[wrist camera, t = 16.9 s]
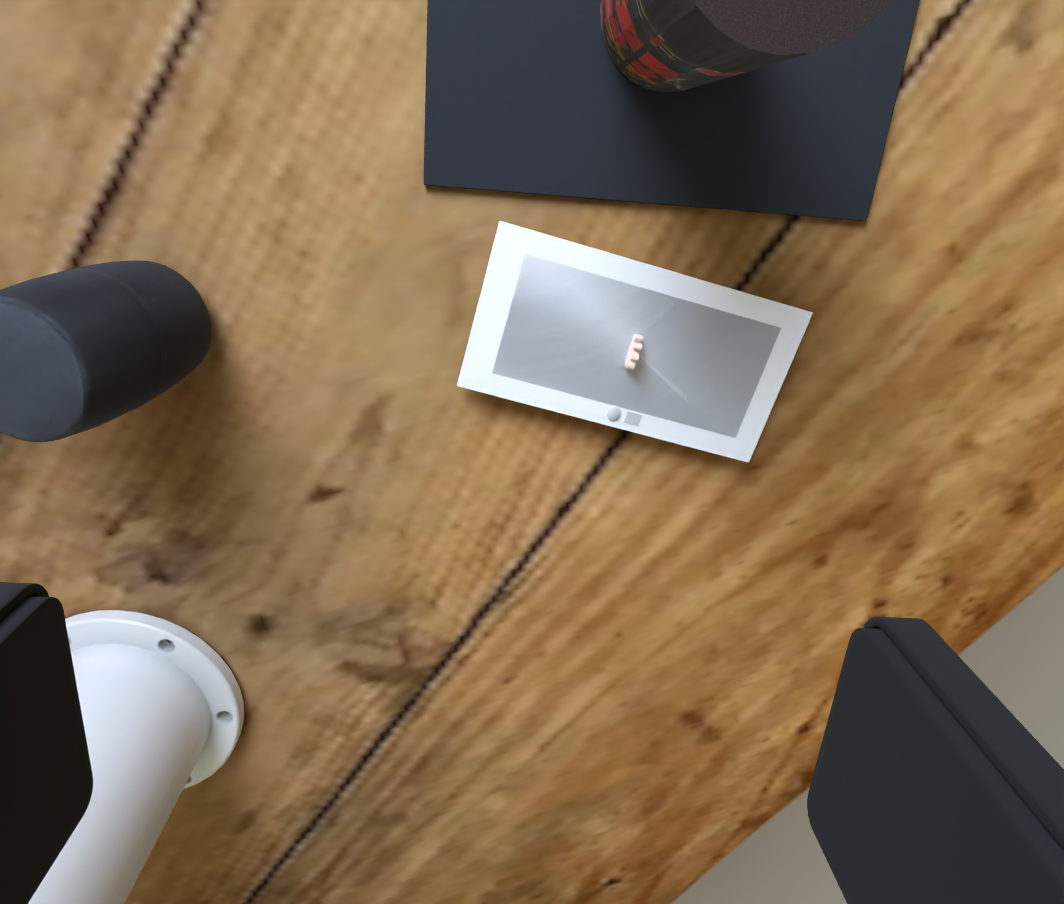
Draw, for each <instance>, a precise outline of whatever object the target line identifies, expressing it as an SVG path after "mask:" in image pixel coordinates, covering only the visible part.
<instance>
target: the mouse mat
mask: <svg viewBox="0 0 1064 904" xmlns="http://www.w3.org/2000/svg"><path fill="white" fill-rule="evenodd" d="M919 1H920V0H892V1H891V2H890V3H889V4H888V5H887V6H886V8H885V9H884V10H883V11H882V12H881V13H880V14H879V15H878V16H877V17H876V18H875V19H874V21H872V22H871V23H869V24H868V25H866V26H865V27H863V28H862V29H860V30H859V31H858V32H856V33H855V34H853V35H852V36H850V37H849V38H847V39H846V40H844V41H842V42H840V43H837V44H834V45H832V46H829V47H826V48H823V49H821V50H818V51H815V52H813V53H810V54H806V55H803V56H799V57H796V58H793V59H789V60H786V61H782V62H779V63H776V64H772V65H769V66H765V67H762V68H759V69H755V70H752V71H748V72H745V73H742V74H738V75H735V76H731V77H728V78H725V79H721V80H718V81H714V82H711V83H708V84H704V85H701V86H697V87H694V88H691V89H687V90H684V91H678V92H664V93H663V92H658V91H654V90H650V89H645V88H644V87H642V86H640V85H638V84H636V83H635V82H633V81H631V80H629V79H628V78H627V77H626V76H625V74H624V73H623V72H622V71H621V70H620V69H619V68H618V67H617V66H616V65H615V63H614V61H613V59H612V58H611V56H610V54H609V52H608V50H607V49H606V45H605V41H604V38H603V34H602V30H601V13H600V5H601V0H428V13H427V58H426V102H425V147H424V185H433V186H445V187H458V188H470V189H482V190H494V191H506V192H518V193H531V194H543V195H555V196H567V197H579V198H592V199H604V200H616V201H628V202H640V203H653V204H665V205H677V206H689V207H701V208H714V209H726V210H738V211H750V212H762V213H775V214H787V215H799V216H811V217H823V218H836V219H848V220H860V221H867V218H868V214H869V210H870V206H871V201H872V197H873V193H874V189H875V185H876V180H877V176H878V172H879V168H880V164H881V160H882V155H883V151H884V147H885V143H886V139H887V135H888V130H889V126H890V122H891V118H892V114H893V109H894V105H895V101H896V97H897V93H898V89H899V84H900V80H901V76H902V72H903V68H904V64H905V59H906V55H907V51H908V47H909V43H910V38H911V34H912V30H913V26H914V22H915V18H916V13H917V9H918V5H919Z"/></svg>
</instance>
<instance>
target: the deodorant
mask: <svg viewBox="0 0 1064 904" xmlns="http://www.w3.org/2000/svg"><path fill="white" fill-rule="evenodd" d="M891 1H892V0H601V5H600V13H601V30H602V34H603V38H604V41H605V45H606V49H607V50H608V52H609V54H610V56H611V58H612V59H613V61H614V63H615V65H616V66H617V67H618V68H619V69H620V70H621V71H622V72H623V73H624V74H625V76H626V77H627V78H628V79H629V80H631V81H633V82H635V83H636V84H638V85H640V86H642V87H644V88H645V89H650V90H654V91H658V92H663V93H664V92H678V91H684V90H687V89H691V88H694V87H697V86H701V85H704V84H708V83H711V82H714V81H718V80H721V79H725V78H728V77H731V76H735V75H738V74H742V73H745V72H748V71H752V70H755V69H759V68H762V67H765V66H769V65H772V64H776V63H779V62H782V61H786V60H789V59H793V58H796V57H799V56H803V55H806V54H810V53H813V52H815V51H818V50H821V49H823V48H826V47H829V46H832V45H834V44H837V43H840V42H842V41H844V40H846V39H847V38H849V37H850V36H852V35H853V34H855V33H856V32H858V31H859V30H860V29H862V28H863V27H865V26H866V25H868V24H869V23H871V22H872V21H874V19H875V18H876V17H877V16H878V15H879V14H880V13H881V12H882V11H883V10H884V9H885V8H886V6H887V5H888V4H889V3H890V2H891Z"/></svg>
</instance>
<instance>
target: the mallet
mask: <svg viewBox="0 0 1064 904" xmlns="http://www.w3.org/2000/svg"><path fill="white" fill-rule="evenodd" d="M210 340H211V322H210V318H209V314H208V311H207V308H206V306H205V304H204V302H203V300H202V298H201V296H200V295H199V293H198V292H197V290H196V289H195V288H194V287H193V285H192V284H191V283H190V282H189V281H188V280H187V279H185V278H184V277H183V276H182V275H180V274H179V273H177V272H176V271H174V270H172V269H170V268H168V267H167V266H164V265H162V264H159V263H155V262H149V261H120V262H109V263H102V264H95V265H90V266H85V267H80V268H76V269H72V270H67V271H62V272H59V273H54V274H50V275H46V276H42V277H38V278H35V279H31V280H28V281H25V282H22V283H19V284H16V285H13V286H10V287H8V288H5V289H2V290H0V432H2V433H4V434H7V435H9V436H12V437H14V438H17V439H20V440H24V441H30V442H48V441H54V440H59V439H62V438H65V437H68V436H71V435H74V434H77V433H80V432H83V431H86V430H89V429H91V428H94V427H97V426H99V425H102V424H104V423H106V422H108V421H111V420H113V419H115V418H117V417H119V416H121V415H123V414H125V413H127V412H129V411H131V410H134V409H136V408H138V407H140V406H142V405H143V404H145V403H147V402H148V401H150V400H152V399H153V398H155V397H157V396H158V395H160V394H162V393H163V392H165V391H166V390H168V389H169V388H171V387H172V386H173V385H175V384H176V383H177V382H179V381H180V380H181V379H182V378H184V377H185V376H186V375H188V374H189V373H190V372H191V371H193V370H194V369H195V368H196V367H197V366H198V365H199V364H200V363H201V362H202V360H203V359H204V357H205V356H206V354H207V352H208V349H209V345H210Z"/></svg>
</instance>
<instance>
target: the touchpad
mask: <svg viewBox="0 0 1064 904" xmlns="http://www.w3.org/2000/svg"><path fill="white" fill-rule="evenodd" d="M812 314H813V312H809V311H806V310H803V309H799V308H796V307H792V306H789V305H786V304H782V303H779V302H775V301H772V300H769V299H765V298H762V297H758V296H755V295H751V294H748V293H745V292H741V291H738V290H734V289H731V288H728V287H724V286H721V285H717V284H714V283H711V282H707V281H704V280H700V279H697V278H694V277H690V276H687V275H683V274H680V273H677V272H673V271H670V270H666V269H663V268H660V267H656V266H653V265H649V264H646V263H642V262H639V261H636V260H632V259H629V258H625V257H622V256H619V255H615V254H612V253H608V252H605V251H602V250H598V249H595V248H591V247H588V246H585V245H581V244H578V243H574V242H571V241H568V240H564V239H561V238H557V237H554V236H551V235H547V234H544V233H540V232H537V231H533V230H530V229H527V228H523V227H520V226H516V225H513V224H510V223H506V222H503V221H499V224H498V228H497V232H496V236H495V240H494V244H493V248H492V252H491V255H490V259H489V263H488V267H487V271H486V275H485V279H484V283H483V286H482V290H481V294H480V298H479V302H478V306H477V310H476V314H475V317H474V321H473V325H472V329H471V333H470V337H469V341H468V345H467V348H466V352H465V356H464V360H463V364H462V368H461V372H460V376H459V379H458V383H457V386H459V387H463V388H467V389H471V390H474V391H478V392H482V393H486V394H490V395H493V396H497V397H501V398H505V399H509V400H512V401H516V402H520V403H524V404H528V405H531V406H535V407H539V408H543V409H547V410H550V411H554V412H558V413H562V414H566V415H569V416H573V417H577V418H581V419H585V420H588V421H592V422H596V423H600V424H604V425H607V426H611V427H615V428H619V429H623V430H627V431H630V432H634V433H638V434H642V435H646V436H649V437H653V438H657V439H661V440H665V441H668V442H672V443H676V444H680V445H684V446H687V447H691V448H695V449H699V450H703V451H706V452H710V453H714V454H718V455H722V456H725V457H729V458H733V459H737V460H741V461H744V462H748V463H749V461H750V458H751V456H752V454H753V451H754V449H755V447H756V444H757V442H758V440H759V437H760V435H761V433H762V430H763V428H764V426H765V423H766V421H767V419H768V416H769V414H770V412H771V409H772V407H773V405H774V402H775V400H776V398H777V395H778V393H779V391H780V388H781V386H782V384H783V381H784V379H785V377H786V374H787V372H788V370H789V367H790V365H791V363H792V360H793V358H794V356H795V353H796V351H797V349H798V346H799V344H800V342H801V339H802V337H803V335H804V332H805V330H806V328H807V325H808V323H809V321H810V318H811V316H812Z"/></svg>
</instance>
